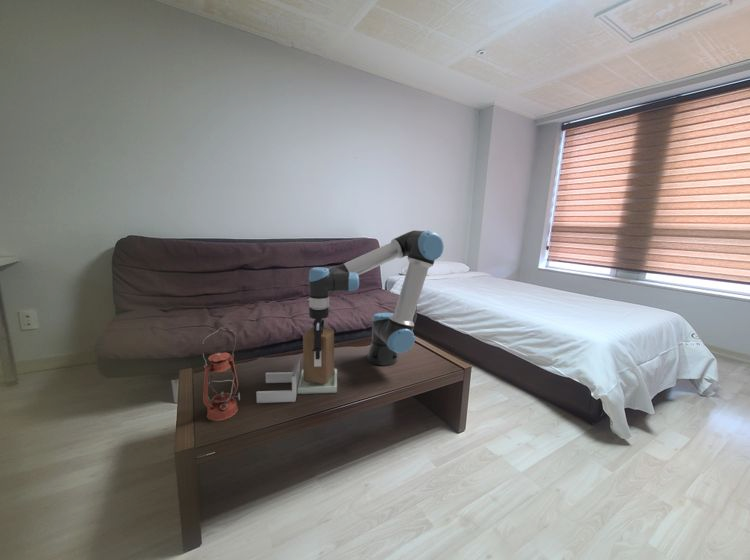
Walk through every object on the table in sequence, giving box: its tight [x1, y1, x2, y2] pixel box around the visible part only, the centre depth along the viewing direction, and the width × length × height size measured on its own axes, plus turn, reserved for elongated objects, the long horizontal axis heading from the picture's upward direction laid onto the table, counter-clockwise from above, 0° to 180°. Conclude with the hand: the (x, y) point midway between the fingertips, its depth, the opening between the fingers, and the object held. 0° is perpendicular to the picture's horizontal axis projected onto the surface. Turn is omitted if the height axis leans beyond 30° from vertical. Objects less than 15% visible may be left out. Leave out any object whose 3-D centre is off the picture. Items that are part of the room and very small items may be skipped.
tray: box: [297, 368, 338, 395], centre depth 124 cm, size 15×15×2 cm
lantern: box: [202, 327, 241, 422], centre depth 101 cm, size 10×10×30 cm
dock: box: [255, 356, 301, 404], centre depth 117 cm, size 14×15×11 cm
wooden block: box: [302, 326, 335, 384], centre depth 122 cm, size 10×10×20 cm
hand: (318, 359), depth 122 cm, fingers closed on wooden block, 11 cm apart
